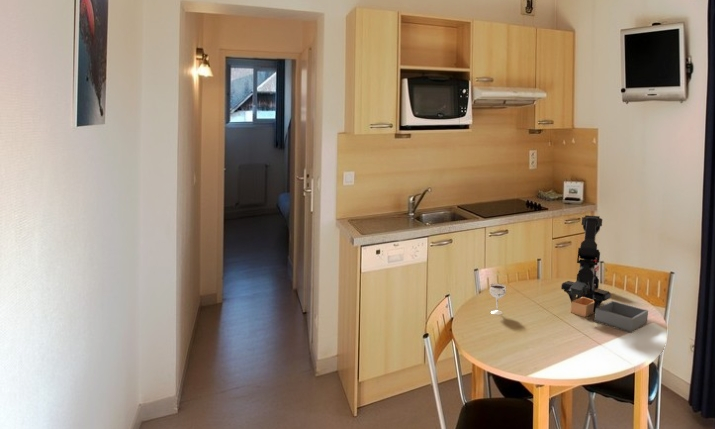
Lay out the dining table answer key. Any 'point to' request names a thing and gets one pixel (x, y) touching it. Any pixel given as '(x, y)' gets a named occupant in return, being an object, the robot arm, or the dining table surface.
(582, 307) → the orange crate
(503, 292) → the wineglass
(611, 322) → the grey open box
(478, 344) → the dining table surface
